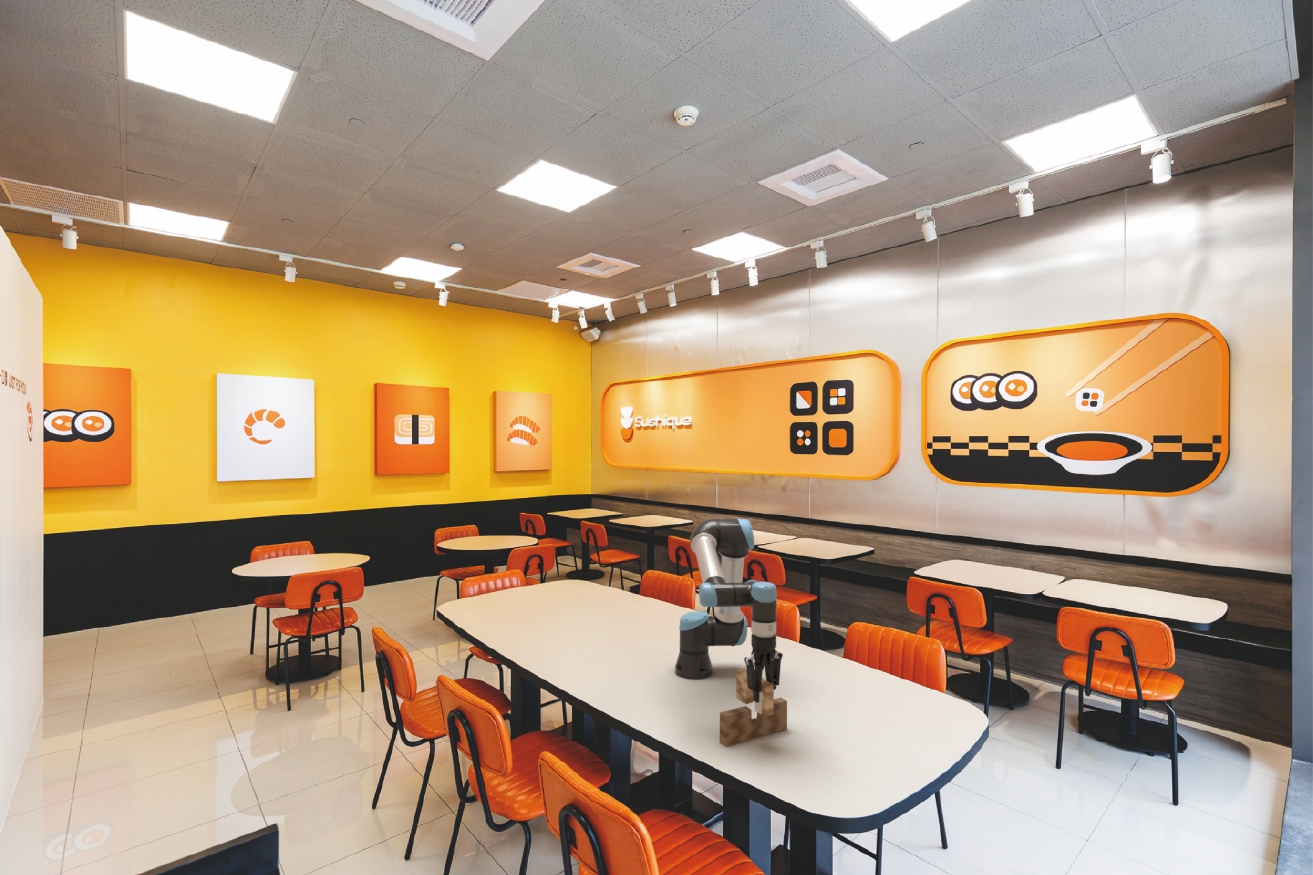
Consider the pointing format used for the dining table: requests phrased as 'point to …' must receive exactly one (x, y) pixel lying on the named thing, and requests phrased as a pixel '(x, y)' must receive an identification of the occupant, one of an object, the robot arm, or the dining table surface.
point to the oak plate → (747, 695)
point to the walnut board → (751, 723)
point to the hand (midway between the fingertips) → (763, 710)
